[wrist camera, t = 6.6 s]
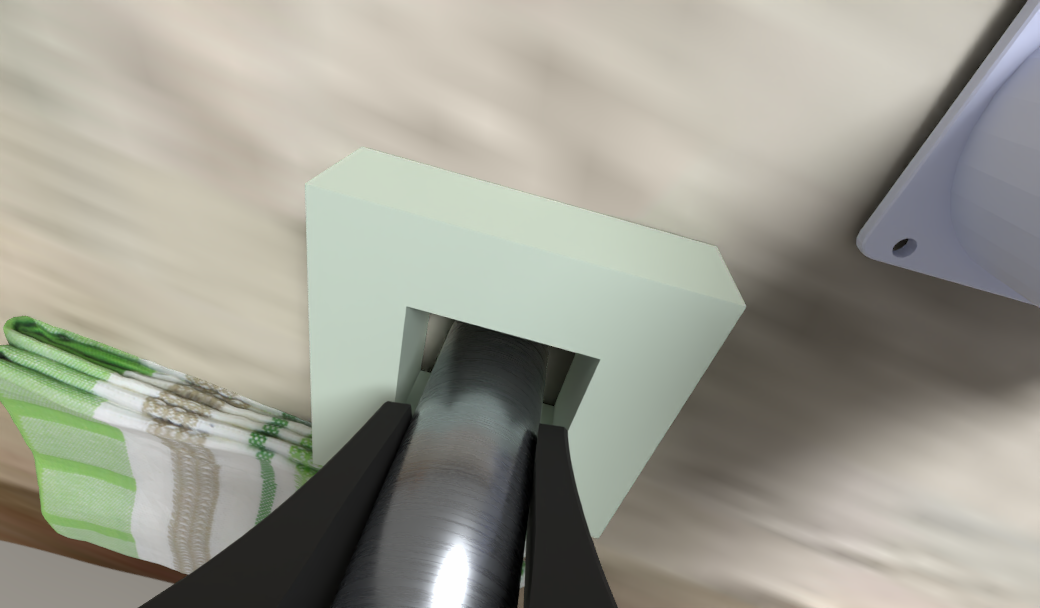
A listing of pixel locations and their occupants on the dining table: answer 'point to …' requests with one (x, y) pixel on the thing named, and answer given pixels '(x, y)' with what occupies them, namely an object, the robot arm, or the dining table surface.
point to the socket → (507, 307)
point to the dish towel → (146, 448)
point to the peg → (457, 483)
